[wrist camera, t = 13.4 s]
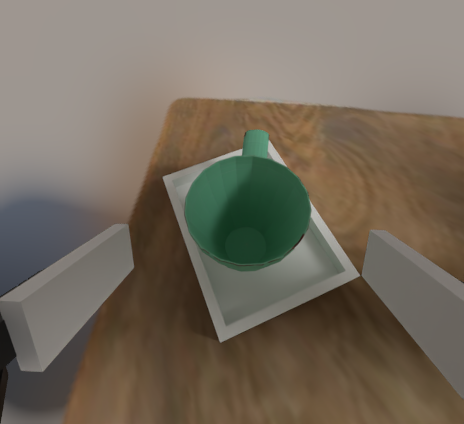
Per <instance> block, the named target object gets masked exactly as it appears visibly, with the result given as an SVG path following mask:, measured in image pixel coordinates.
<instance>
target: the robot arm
mask: <svg viewBox="0 0 464 424" xmlns="http://www.w3.org/2000/svg"><path fill="white" fill-rule="evenodd" d="M133 268H134V262H133V255H132V248H131V240H130V233H129V226H128V224H114V225H113V226H111V227H110V228H108V229H106V230H105V231H103V232H101V233H100V234H98V235H97V236H95V237H94V238H92V239H91V240H89V241H88V242H86V243H84V244H83V245H81V246H80V247H78V248H77V249H75V250H74V251H72V252H71V253H69V254H68V255H66V256H64V257H63V258H61V259H60V260H58V261H57V262H55V263H54V264H52V265H51V266H49V267H48V268H46V269H43V270H41V271H39V272H37V273H36V274H34V275H33V276H31V277H30V278H28V280H25V281H23V282H22V283H20V284H19V285H18V286H17V287H14V288H12V289H11V290H9V291H8V292H6V293H5V294H3V295H2V296H0V423H1V417H2V411H3V405H4V398H5V392H6V386H7V380H8V372H7V369H6V365H7V364H9V363H10V361H12V360H13V359H14V358H15V357H16V358H17V361H18V364H19V367H20V370H21V371H36V372H43V371H44V370H45V369H46V368H47V366H48V365H49V364H50V363H51V362H52V361H53V360H54V358H55V357H56V356H57V355H58V354H59V353H60V351H61V350H62V349H63V348H64V347H65V346H66V344H68V343H69V341H70V340H71V339H72V338H73V337H74V336H75V335H76V333H77V332H78V331H79V330H80V329H81V328H82V327H83V325H84V324H85V323H86V322H87V321H88V320H89V318H90V317H91V316H92V315H93V314H94V313H95V312H96V311H97V309H98V308H99V307H100V306H101V305H102V304H103V303H104V301H105V300H106V299H107V298H108V297H109V296H110V295H111V293H112V292H113V291H114V290H115V289H116V288H117V287H118V285H119V284H120V283H121V282H122V281H123V280H124V279H125V277H126V276H127V275H128V274H129V273H130V272H131V271H132V269H133ZM361 276H362V277H363V278H364V279H365V281H366V282H367V283H368V284H369V285H370V287H371V288H372V289H373V290H374V292H375V293H376V294H377V295H378V296H379V298H380V299H381V300H382V301H383V303H384V304H385V305H386V306H387V307H388V309H389V310H390V311H391V312H392V314H393V315H394V316H395V317H396V318H397V320H398V321H399V322H400V323H401V325H402V326H403V327H404V328H405V329H406V331H407V332H408V333H409V334H410V335H411V337H412V338H413V339H414V340H415V342H416V343H417V344H418V345H419V346H420V348H421V349H422V350H423V351H424V353H425V354H426V355H427V356H428V357H429V359H430V360H431V361H432V362H433V364H434V365H435V366H436V367H437V368H438V370H439V371H440V372H441V373H442V375H443V376H444V377H445V378H446V379H447V381H448V382H449V383H450V384H451V386H452V387H453V388H454V389H455V390H456V392H457V393H458V394H459V395H460V397H461V398H462V399H464V282H462V281H460V280H458V279H456V278H455V277H453V276H452V275H450V274H449V273H447V272H446V271H444V270H443V269H441V268H440V267H438V266H437V265H436V264H434V263H433V262H431V261H430V260H428V259H427V258H425V257H424V256H422V255H421V254H419V253H418V252H416V251H415V250H413V249H412V248H410V247H409V246H408V245H406V244H405V243H403V242H402V241H400V240H399V239H397V238H396V237H394V236H393V235H391V234H390V233H388V232H387V231H385V230H370V233H369V238H368V243H367V249H366V254H365V259H364V265H363V270H362V275H361Z"/></svg>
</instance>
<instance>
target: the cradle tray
mask: <svg viewBox="0 0 464 424" xmlns="http://www.w3.org/2000/svg"><path fill="white" fill-rule="evenodd" d="M242 150H243V149H240V150H237V151H234V152H232V153H229V154H226V155H223V156H220V157H217V158H214V159H212V160H209V161H206V162H203V163H200V164H197V165H195V166H192V167H189V168H186V169H183V170H180V171H178V172H175V173H172V174H169V175H166V176H163V180H164V183H165V186H166V189H167V192H168V195H169V198H170V200H171V203H172V206H173V209H174V212H175V215H176V218H177V221H178V223H179V226H180V229H181V232H182V235H183V238H184V241H185V243H186V246H187V249H188V252H189V255H190V258H191V261H192V264H193V266H194V269H195V272H196V275H197V278H198V281H199V284H200V287H201V289H202V292H203V295H204V298H205V301H206V304H207V307H208V310H209V312H210V315H211V318H212V321H213V324H214V327H215V330H216V333H217V335H218V338H219V341H220V343H221V342H223V341H225V340H227V339H230V338H232V337H234V336H236V335H238V334H240V333H242V332H244V331H246V330H248V329H251V328H253V327H255V326H257V325H259V324H261V323H263V322H265V321H267V320H269V319H272V318H274V317H276V316H278V315H280V314H282V313H284V312H286V311H288V310H290V309H293V308H295V307H297V306H299V305H301V304H303V303H305V302H307V301H309V300H311V299H314V298H316V297H318V296H320V295H322V294H324V293H326V292H328V291H330V290H332V289H335V288H337V287H339V286H341V285H343V284H345V283H347V282H349V281H351V280H353V279H355V278H357V277H359V276H360V275H359V273H358V272H357V270H356V269H355V267H354V266H353V264H352V263H351V261H350V260H349V258H348V257H347V255H346V254H345V252H344V251H343V249H342V248H341V246H340V245H339V243H338V242H337V240H336V239H335V237H334V236H333V234H332V233H331V231H330V230H329V229H328V227H327V226H326V224H325V223H324V221H323V220H322V218H321V217H320V215H319V214H318V212H317V211H316V209H315V208H314V206H313V205H312V203H311V202H310V205H311V210H312V211H311V217H310V223H309V228H308V230H307V232H306V233H305V235H304V237H303V239H302V240H301V242H300V243H299V244H298V245H297V246H296V247H295V248H294V250H293V251H292V252H291V253H289V254H288V255H287V256H286V257H285V258H284V259H283V260H281V261H280V262H278V263H275V264H273V265H270V266H268V267H265V268H262V269H260V270H257V271H242V272H241V271H238V270H234V269H231V268H228V267H226V266H225V265H221V264H219V263H218V262H216V261H215V260H213V259H212V258H210V257H209V256H208V255H206V254H205V253H203V252H202V250H201V249H200V248H199V246H198V245H197V244H196V242H195V241H194V240H193V238H192V237H191V235H190V234H189V231H188V227H187V224H186V220H185V217H184V209H185V198H186V195H187V193H188V191H189V189H190V187H191V184H192V182H193V181H194V180H195V179H196V178H197V177H198V176H199V175H200V173H201V172H202V171H203V170H204V169H206V168H208V167H209V166H211V165H212V164H214V163H216V162H217V161H219V160H223V159H226V158H229V157H233V156H242ZM267 158H270V159H272V160H274V161H276V162H278V163H280V164H282V165H284V166H286V165H285V163H284V162H283V160H282V159H281V157H280V156H279V154H278V153H277V151H276V150H275V148H274V147H273V145H272V144H271V142H270V141H269V142H268V154H267ZM286 167H287V166H286Z"/></svg>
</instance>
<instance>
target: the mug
mask: <svg viewBox="0 0 464 424" xmlns="http://www.w3.org/2000/svg"><path fill="white" fill-rule="evenodd" d="M268 142H269V134H268V133H267V132H265V131H262V130H249V131H247V132H246V133H245V136H244V142H243V150H242V156H233V157H229V158H226V159H223V160H219V161H217V162H216V163H214V164H212V165H211V166H209V167H208V168H206V169H204V170H203V171H202V172H201V173H200V175H199V176H198V177H197V178H196V179H195V180H194V181H193V182H192V184H191V187H190V189H189V191H188V193H187V195H186V198H185V209H184V217H185V220H186V224H187V227H188V231H189V234H190V235H191V237H192V238H193V240H194V241H195V242H196V244H197V245H198V246H199V248H200V249H201V250H202V252H203V253H205V254H206V255H208V256H209V257H210V258H212V259H213V260H215V261H216V262H218V263H219V264H221V265H225V266H226V267H228V268H231V269H234V270H238V271H241V272H242V271H257V270H260V269H262V268H265V267H268V266H270V265H273V264H275V263H278V262H280V261H281V260H283V259H284V258H285V257H286V256H287V255H288V254H289V253H291V252H292V251H293V250H294V248H295V247H296V246H297V245H298V244H299V243H300V242H301V240H302V239H303V237H304V235H305V233H306V232H307V230H308V228H309V223H310V217H311V211H312V210H311V205H310V200H309V195H308V192H307V190H306V189H305V187H304V185H303V184H302V182H301V180H300V179H299V177H298V176H296V175H295V174H294V173H293V172H292V171H291V170H290V169H289V168H287V167H286V166H284V165H282V164H280V163H278V162H276V161H274V160H272V159H270V158H267V154H268Z"/></svg>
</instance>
